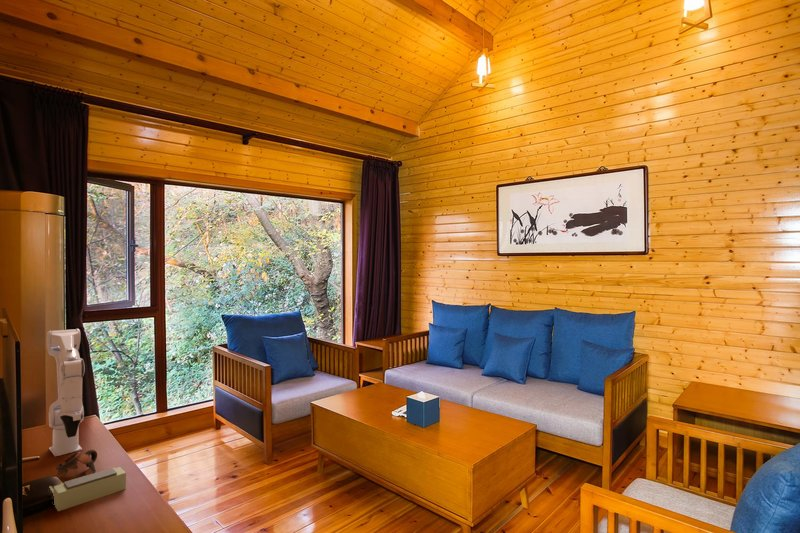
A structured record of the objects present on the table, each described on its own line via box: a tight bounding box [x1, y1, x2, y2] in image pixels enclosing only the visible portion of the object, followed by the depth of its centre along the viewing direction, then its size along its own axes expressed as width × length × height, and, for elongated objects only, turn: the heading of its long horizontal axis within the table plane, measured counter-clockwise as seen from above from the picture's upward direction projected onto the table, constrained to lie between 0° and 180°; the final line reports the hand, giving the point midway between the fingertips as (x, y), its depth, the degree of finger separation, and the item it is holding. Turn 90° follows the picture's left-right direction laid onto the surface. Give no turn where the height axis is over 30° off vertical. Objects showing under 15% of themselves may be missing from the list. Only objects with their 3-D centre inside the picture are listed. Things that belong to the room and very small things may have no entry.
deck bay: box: [48, 466, 127, 512], centre depth 133 cm, size 11×17×6 cm, turn 139°
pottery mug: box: [55, 449, 98, 476], centre depth 144 cm, size 12×10×8 cm
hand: (71, 436), depth 150 cm, fingers closed
